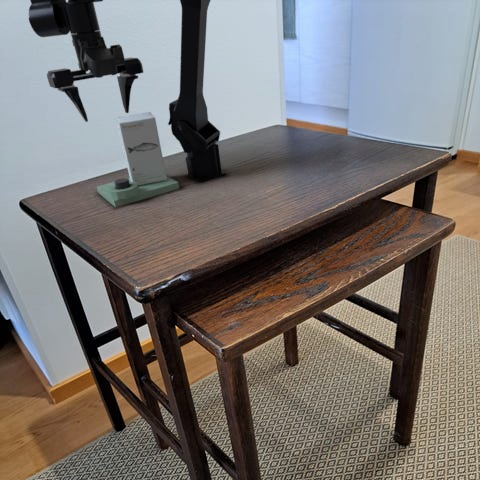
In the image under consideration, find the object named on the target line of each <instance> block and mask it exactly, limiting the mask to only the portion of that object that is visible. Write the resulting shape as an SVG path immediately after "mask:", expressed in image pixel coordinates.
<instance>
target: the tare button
mask: <svg viewBox="0 0 480 480" xmlns="http://www.w3.org/2000/svg"><path fill="white" fill-rule="evenodd" d="M127 178H128V177H124V178H123V177H122V178H118V179H116V180H115V181H114V182H115V186H116V189H118V190H120V189H126V188H129V187H130V183H129V179H127Z"/></svg>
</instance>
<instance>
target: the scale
mask: <svg viewBox="0 0 480 480" xmlns="http://www.w3.org/2000/svg"><path fill="white" fill-rule="evenodd" d="M126 178H127V179H129V183H130V187H129V188H126V189H120V190H118V189H116V186H115V181H112V182H108V183H105V184H100V185H97V186H96V189H97V193H98V194H99V195H100V196H102V197H103V198H104V199H105V200H106V201H107V202H108V203H110V204H111V205H112V206H113V207H115V208H118V207H122V206H126V205H128V204H132V203H136V202H139V201H143V200H145V199H148V198H149V199H150V198H153V197H156V196H159V195H163V194H167V193H169V192H172V191H176V190H179V189H180V184H179V181H177V180H175V179H173V178H171V177H169V176H167V180H166V181H159V182H153V183H148V184H143V185H138V184H137V183H136V182H132V181H131V179H130V177H126Z"/></svg>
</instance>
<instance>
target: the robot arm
mask: <svg viewBox="0 0 480 480" xmlns="http://www.w3.org/2000/svg"><path fill="white" fill-rule="evenodd" d="M103 1H104V0H30V6H29V8H28V22H29V24H30V27H31V28H32V30H33V32H35V34H36V35H37V36H39V37H40V38H48V37H49V38H50V37H58V36H59V37H60V36H65V35H66V36H67V35H68V34H69V33H70V37H71V42H72V46H73V47H74V50H75V55H76V58H77V61H78V63H77V65H78V69H77V70H71V69H70V68H66V67H65V68H58V69H52V70H48V71H47V73H46V78H47V82H48V84H49V87H51V88H53V89H57V91H59V92H62V93H65V95H66V96H67V97H68V99H69V100H70V101H71V102H72V104H73V106H74V107H75V108H76V109H77V112H78V113H79V114H80V116H81V117H82V119H83V120H84V122H85V123H87V122H89V119H88V114H87V112H86V110H85V107H84V104H83V100H82V99H81V96H80V92H79V87H78V86H76V85H75V84H74V82H79V81H83V80H88V79H94V78H96V79H101V78H103V77H105V76H106V77H107V76H116V75H117V74H119V75H117V76H116V79H117V83H118V87H119V92H120V97H121V98H120V99H121V102H122V107H123V109H124V112H125V114H129V113H130V103H131V102H130V101H131V91H132V87H133V84H134V81H135V80H138V79H139V74H143V73H144V67H143V63H142V61H141V60H140V59H139V58H138V57H126V58H125V54H124V51H123V48H122V46H121V45H120V44H113V45H112V44H111V45H110V46H109V47H107V44H106V42H105V39H104V36H102V32H101V28H100V24H99V20H98V15H97V11H96V7H95V3H100V2H101V3H102V2H103ZM179 2H180V6H181V24H180V25H181V28H180V29H181V31H180V33H181V34H180V69H179V77H180V78H179V94H178V97H177V99H175V100H173V101H172V102H169V104H168V105H169V106H168V111H169V119H168V123H167V125H168V126H170V130H171V134H172V136H174V138H175V139H176V140H177V141H178V142H179V144H180V146H181V148H182V150H183V152H184V153H185V154H186V156H185V163H186V170H187V174H186V175H187V177H188V178H190V179H192V180H194V181H196V182H198V183H203V182H207V181H209V180H214V179H216V178H220V177H223V176H226V172H225V171H224V170H222V165H221V164H222V163H221V154H220V148H219V144H217V143H218V142H220V136H221V131H220V130H219V129H218V128H217V127H216V126H215V125H214V124H213V123H212V122H211V121H210V120H209V114H208V106H207V103H206V100H205V97H204V96H205V95H204V77H205V76H204V75H205V59H206V58H205V57H206V41H207V38H206V37H207V19H208V9H209V6H210V3H211V0H179Z"/></svg>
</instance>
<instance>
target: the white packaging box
mask: <svg viewBox="0 0 480 480" xmlns="http://www.w3.org/2000/svg"><path fill="white" fill-rule="evenodd" d="M114 120H115V123H116V127H117V132H118V135H119V140H120V143H121V147H122V151H123V152H122V153H123V156H124V160H125V165H126V168H127V173H128V176H129V178H130V179H131V181H132V182H136V183H137V184H138V185H143V184H148V183H153V182H159V181H166V180H167V177H168V176H167V172H166V166H165V162H164V157H163V152H162V147H161V142H160V136H159V135H160V134H159V132H158V126H157V120H156V117H155V116H154V115H153V114H152V112H151V111H147V112H142V113H141V112H140V113H135V114H129V115H121V116H116V117H115V119H114Z"/></svg>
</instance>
